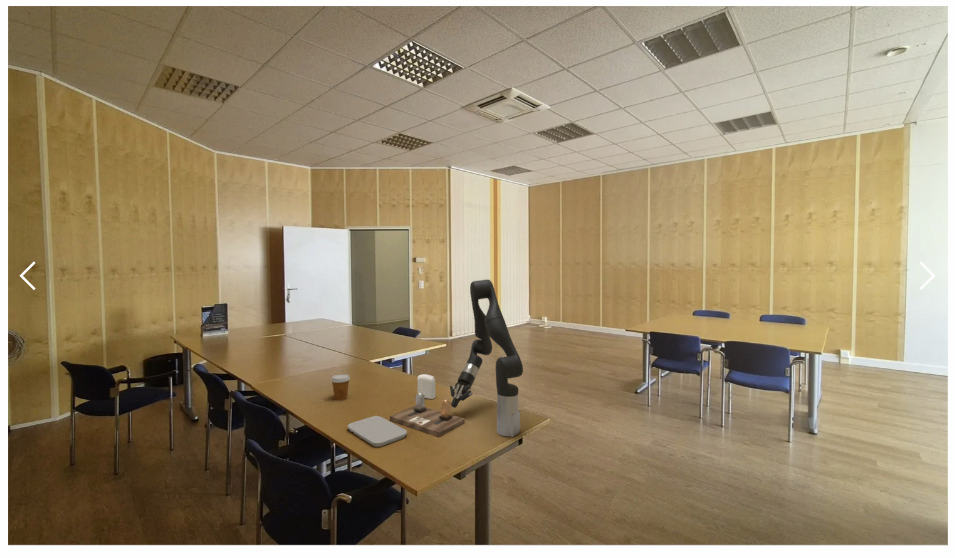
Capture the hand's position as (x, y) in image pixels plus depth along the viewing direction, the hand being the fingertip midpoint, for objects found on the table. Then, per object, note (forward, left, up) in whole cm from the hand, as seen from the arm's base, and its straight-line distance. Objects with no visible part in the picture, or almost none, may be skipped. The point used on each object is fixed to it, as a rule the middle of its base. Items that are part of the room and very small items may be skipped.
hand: (453, 406), depth 190 cm
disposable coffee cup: (+66, +13, -6) cm, 68 cm away
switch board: (+8, +9, -6) cm, 14 cm away
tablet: (+18, +31, -7) cm, 36 cm away
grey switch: (+16, +5, -3) cm, 17 cm away
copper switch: (0, +5, -3) cm, 6 cm away
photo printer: (+30, -15, -6) cm, 34 cm away
